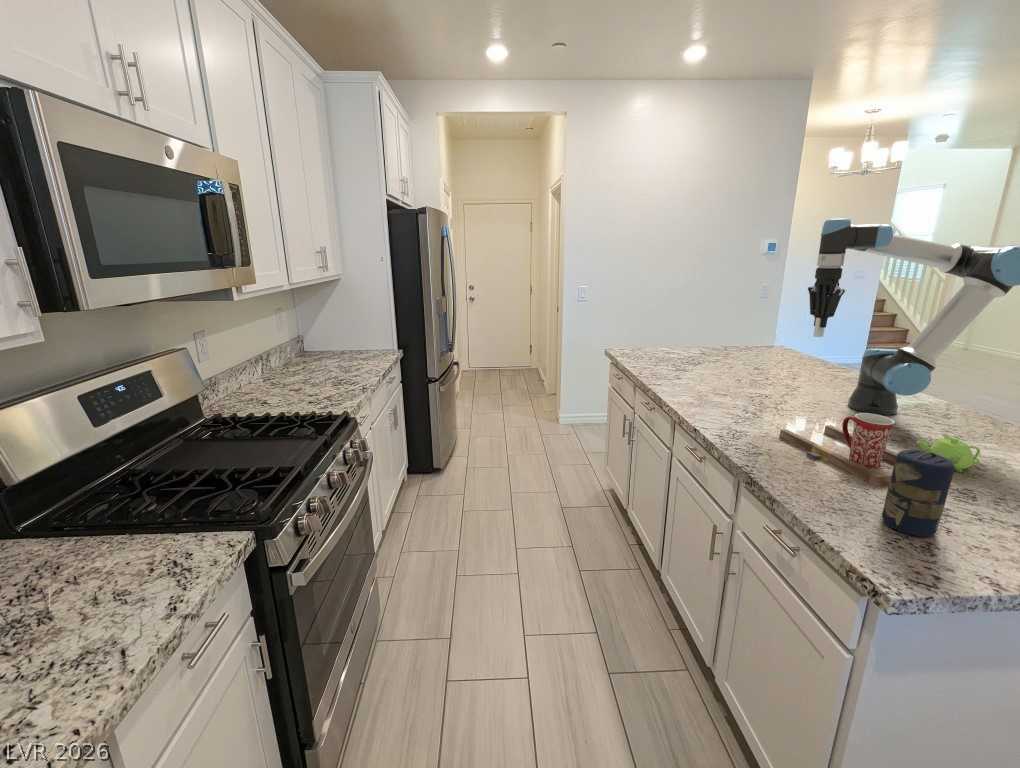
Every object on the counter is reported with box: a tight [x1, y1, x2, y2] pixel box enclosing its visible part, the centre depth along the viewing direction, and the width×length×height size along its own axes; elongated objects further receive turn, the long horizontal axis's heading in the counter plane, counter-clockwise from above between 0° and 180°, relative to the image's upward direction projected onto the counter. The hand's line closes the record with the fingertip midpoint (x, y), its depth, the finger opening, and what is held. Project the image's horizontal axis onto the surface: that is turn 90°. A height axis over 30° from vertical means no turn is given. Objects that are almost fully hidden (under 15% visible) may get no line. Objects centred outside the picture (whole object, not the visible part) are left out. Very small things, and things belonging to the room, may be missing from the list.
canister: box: [882, 449, 955, 537], centre depth 102 cm, size 10×10×18 cm
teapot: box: [916, 435, 981, 473], centre depth 132 cm, size 11×12×8 cm
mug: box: [841, 412, 896, 469], centre depth 135 cm, size 13×9×14 cm
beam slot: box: [779, 424, 899, 487], centre depth 140 cm, size 25×34×2 cm
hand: (818, 336), depth 166 cm, fingers closed
